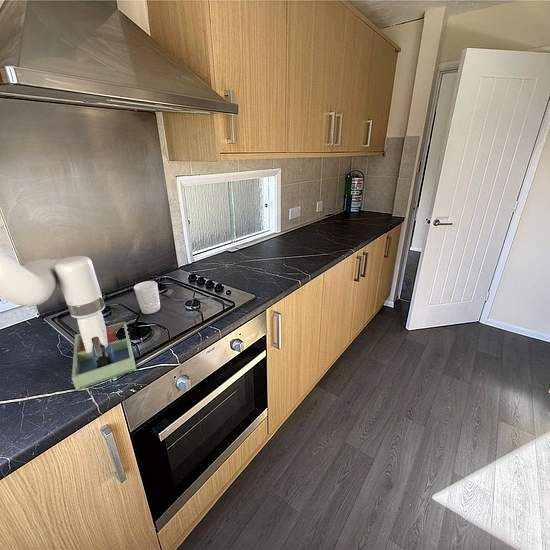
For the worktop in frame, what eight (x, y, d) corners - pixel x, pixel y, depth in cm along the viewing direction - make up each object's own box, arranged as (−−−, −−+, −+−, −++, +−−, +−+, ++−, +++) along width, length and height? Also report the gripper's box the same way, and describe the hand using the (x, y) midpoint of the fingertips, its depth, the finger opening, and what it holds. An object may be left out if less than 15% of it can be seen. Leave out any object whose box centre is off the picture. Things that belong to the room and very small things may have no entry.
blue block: (97, 371, 78) (92, 358, 76) (96, 362, 81) (92, 349, 79) (115, 365, 80) (111, 352, 78) (114, 356, 83) (110, 344, 81)
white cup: (161, 302, 114) (156, 279, 111) (162, 312, 108) (157, 287, 104) (140, 306, 112) (134, 283, 108) (139, 316, 105) (133, 291, 101)
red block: (96, 350, 86) (92, 338, 84) (96, 342, 90) (92, 330, 88) (113, 345, 88) (109, 333, 86) (112, 338, 92) (108, 326, 90)
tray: (76, 390, 73) (71, 378, 71) (78, 345, 91) (75, 334, 89) (136, 369, 79) (133, 358, 78) (127, 331, 97) (125, 321, 95)
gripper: (70, 296, 78) (90, 351, 85) (67, 325, 65) (90, 388, 72) (102, 289, 82) (118, 343, 89) (105, 315, 68) (123, 376, 75)
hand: (105, 363), depth 80 cm, fingers closed on blue block, 4 cm apart
